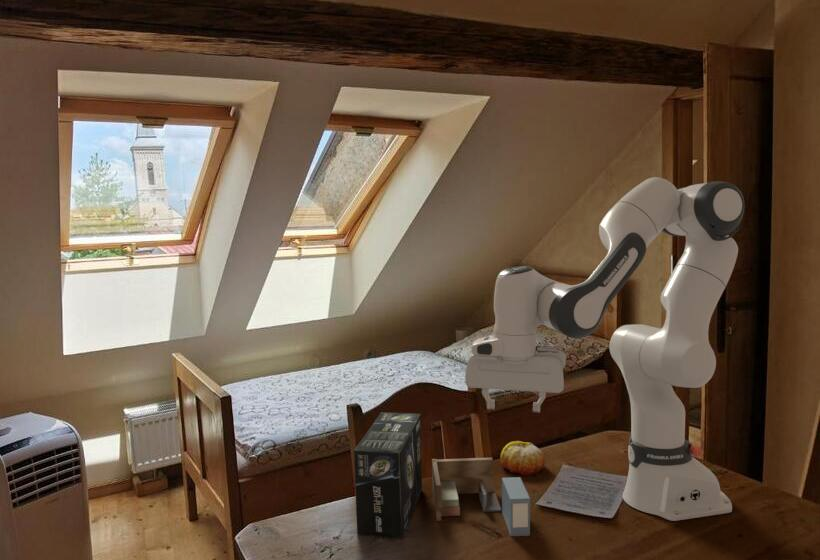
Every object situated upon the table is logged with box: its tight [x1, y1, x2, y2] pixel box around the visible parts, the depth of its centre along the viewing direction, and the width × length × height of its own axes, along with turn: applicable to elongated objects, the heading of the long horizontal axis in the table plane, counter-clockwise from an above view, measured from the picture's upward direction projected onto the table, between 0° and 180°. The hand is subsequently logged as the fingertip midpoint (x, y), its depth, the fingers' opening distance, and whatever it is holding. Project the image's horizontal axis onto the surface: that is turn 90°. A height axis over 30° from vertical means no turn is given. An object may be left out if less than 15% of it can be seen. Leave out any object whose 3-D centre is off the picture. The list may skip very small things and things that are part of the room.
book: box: [501, 476, 531, 537], centre depth 136 cm, size 4×10×8 cm, turn 1°
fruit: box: [499, 440, 546, 476], centre depth 164 cm, size 11×10×8 cm
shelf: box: [431, 457, 494, 522], centre depth 145 cm, size 14×14×8 cm
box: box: [353, 412, 423, 539], centre depth 142 cm, size 23×10×19 cm, turn 168°
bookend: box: [478, 479, 502, 513], centre depth 146 cm, size 4×8×4 cm, turn 2°
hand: (513, 410), depth 136 cm, fingers open, 8 cm apart
